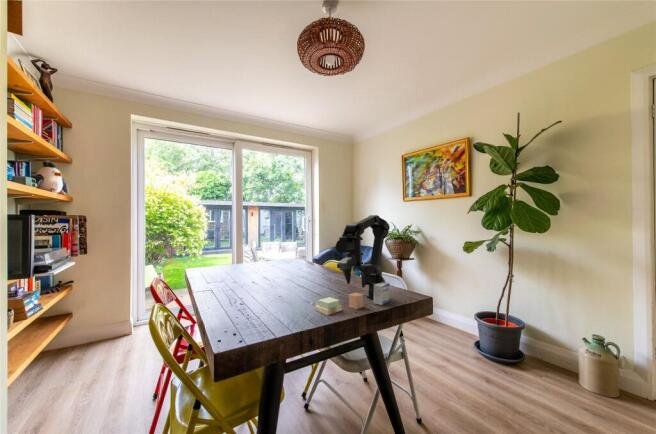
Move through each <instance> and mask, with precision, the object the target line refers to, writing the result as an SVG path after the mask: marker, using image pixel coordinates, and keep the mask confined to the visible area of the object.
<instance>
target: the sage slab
mask: <svg viewBox="0 0 656 434" xmlns="http://www.w3.org/2000/svg"><path fill="white" fill-rule="evenodd" d="M317 302H318V303H317V305H318V306H320V307H323V308H326V309H331V308H334V307H337V306H339V305H340V299H336V298H333V297H330V296H328V297H324V298H322V299H321V298H320V299H318V301H317Z"/></svg>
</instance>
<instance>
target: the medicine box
mask: <svg viewBox="0 0 656 434" xmlns="http://www.w3.org/2000/svg"><path fill="white" fill-rule="evenodd" d="M390 288H391V284H390V283H389V282H386V281H385V282H381V283H378V284H376V285H374V299H373V304H376V305H379V306H383V305H385V304H386V303H389V302H390V298H391V297H390V295H391V294H390V291H391V289H390Z"/></svg>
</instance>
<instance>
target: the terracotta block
mask: <svg viewBox="0 0 656 434" xmlns="http://www.w3.org/2000/svg"><path fill="white" fill-rule="evenodd" d="M348 306H349V308H352V309H354V310H358V309H362V308H363V307H364V294H363V293H359V292H353V293H349V294H348Z"/></svg>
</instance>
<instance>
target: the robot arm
mask: <svg viewBox="0 0 656 434" xmlns="http://www.w3.org/2000/svg"><path fill="white" fill-rule="evenodd" d="M390 227H391V226H390V224H389V222H388V221H387V220H385V219H384V218H382V217H380V216H379V215H378V214H374V215H372V214H371V215H368V216H367V217H366V218H363V219H361V220H360V221H357V222H348V223H347V224H346V225H345V228H344V230H343V232H342V235H341V236H339V238H338V239H339V240H337V241H336V244H335V249H336V251H337V252H338V253H339V254H345V257H344V258H342V259H341V260H339V261H338V262H337V263H336V268H337V269H338V270H339V271H340V272H341V273H343V276H344V278H345V280H346V283H347V285H350V283H351V279H352V269H355V270H359V271H360V272H359V275H360V276H361V277H360V278H361V280H360V281H361V287H362V288H365V287H366V286H368V295H366V298H368V299H372V300H374V285H376V284H378V283H381V282H386V280H385V278H384V277H383V272H382V269H381V259H382V253H383V246H384V240H385V239H386V237H387V236H388V235H389V232H390ZM368 228H371V230H372V234H373V236H374V239H373V243H372V248H371V249H372V251H371V256H370V262H369V263H364V261H362V256H363V255H364V253H363V252H362V243H361V241H363V240H364V239H363V237H362V236H361V235H363V234H364V233H365V230H366V229H368Z"/></svg>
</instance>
